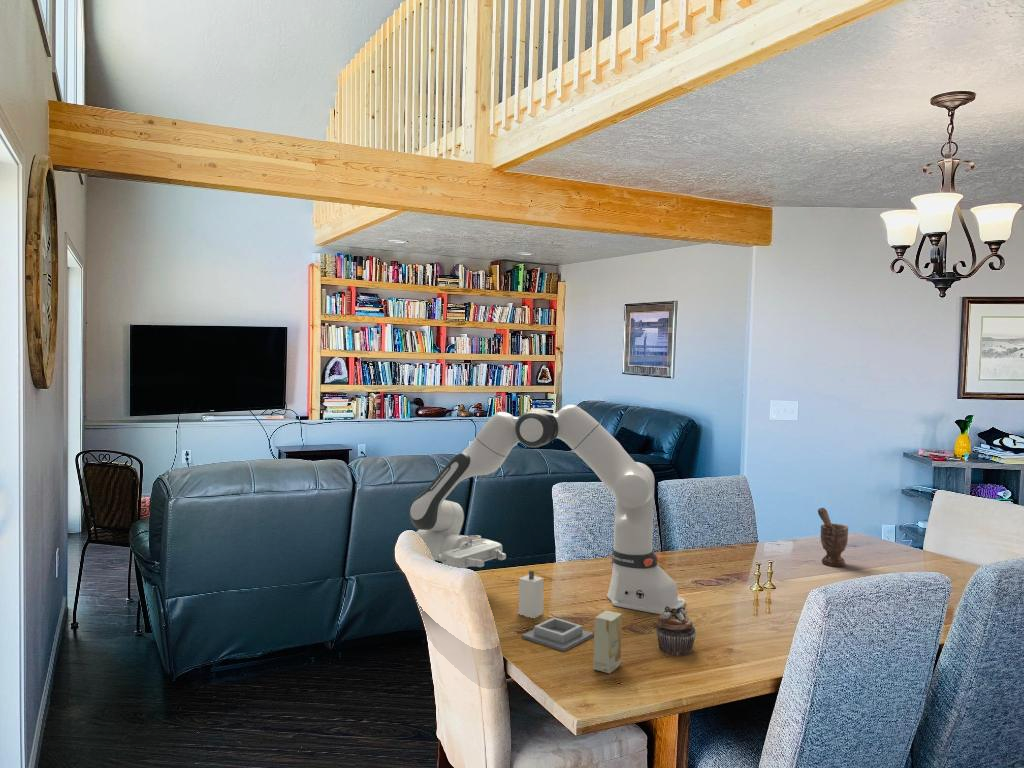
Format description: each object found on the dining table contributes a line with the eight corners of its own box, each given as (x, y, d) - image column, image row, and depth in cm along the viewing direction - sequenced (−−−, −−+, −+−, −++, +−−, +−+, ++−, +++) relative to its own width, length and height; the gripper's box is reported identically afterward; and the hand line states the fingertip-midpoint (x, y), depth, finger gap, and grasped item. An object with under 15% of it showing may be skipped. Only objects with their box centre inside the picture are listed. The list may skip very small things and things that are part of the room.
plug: (543, 614, 210) (543, 571, 209) (532, 618, 206) (533, 574, 206) (528, 609, 213) (529, 567, 212) (518, 614, 210) (519, 571, 209)
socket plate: (593, 636, 195) (594, 625, 195) (564, 651, 185) (564, 640, 185) (552, 623, 203) (552, 612, 203) (522, 637, 193) (522, 626, 193)
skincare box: (609, 674, 173) (611, 621, 172) (592, 669, 175) (593, 617, 174) (621, 664, 178) (622, 612, 178) (604, 660, 181) (605, 609, 180)
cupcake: (658, 656, 183) (659, 615, 183) (653, 640, 193) (654, 601, 192) (699, 657, 183) (700, 616, 182) (691, 641, 192) (692, 602, 192)
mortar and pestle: (838, 571, 253) (840, 511, 251) (812, 566, 258) (814, 507, 257) (850, 564, 261) (852, 506, 260) (824, 558, 267) (826, 502, 266)
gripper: (433, 547, 218) (469, 557, 209) (481, 533, 234) (516, 542, 225) (432, 568, 218) (468, 579, 210) (480, 554, 234) (515, 563, 225)
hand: (493, 560), depth 217 cm, fingers open, 8 cm apart
